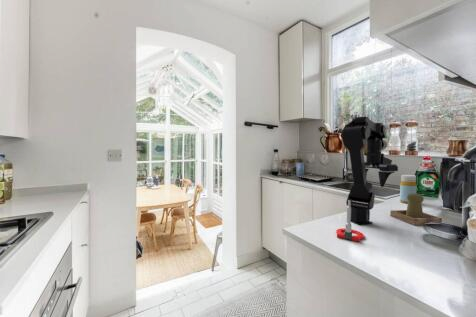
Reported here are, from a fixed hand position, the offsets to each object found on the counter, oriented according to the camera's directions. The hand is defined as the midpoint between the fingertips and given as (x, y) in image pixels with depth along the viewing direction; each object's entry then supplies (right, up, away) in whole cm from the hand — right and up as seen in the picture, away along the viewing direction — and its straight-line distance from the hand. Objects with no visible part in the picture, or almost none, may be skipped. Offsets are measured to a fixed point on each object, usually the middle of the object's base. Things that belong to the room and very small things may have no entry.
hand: (372, 185), depth 96 cm
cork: (+11, -14, -9) cm, 20 cm away
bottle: (+31, -12, +19) cm, 39 cm away
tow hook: (-24, -15, -24) cm, 37 cm away
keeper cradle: (+11, -13, -9) cm, 20 cm away
